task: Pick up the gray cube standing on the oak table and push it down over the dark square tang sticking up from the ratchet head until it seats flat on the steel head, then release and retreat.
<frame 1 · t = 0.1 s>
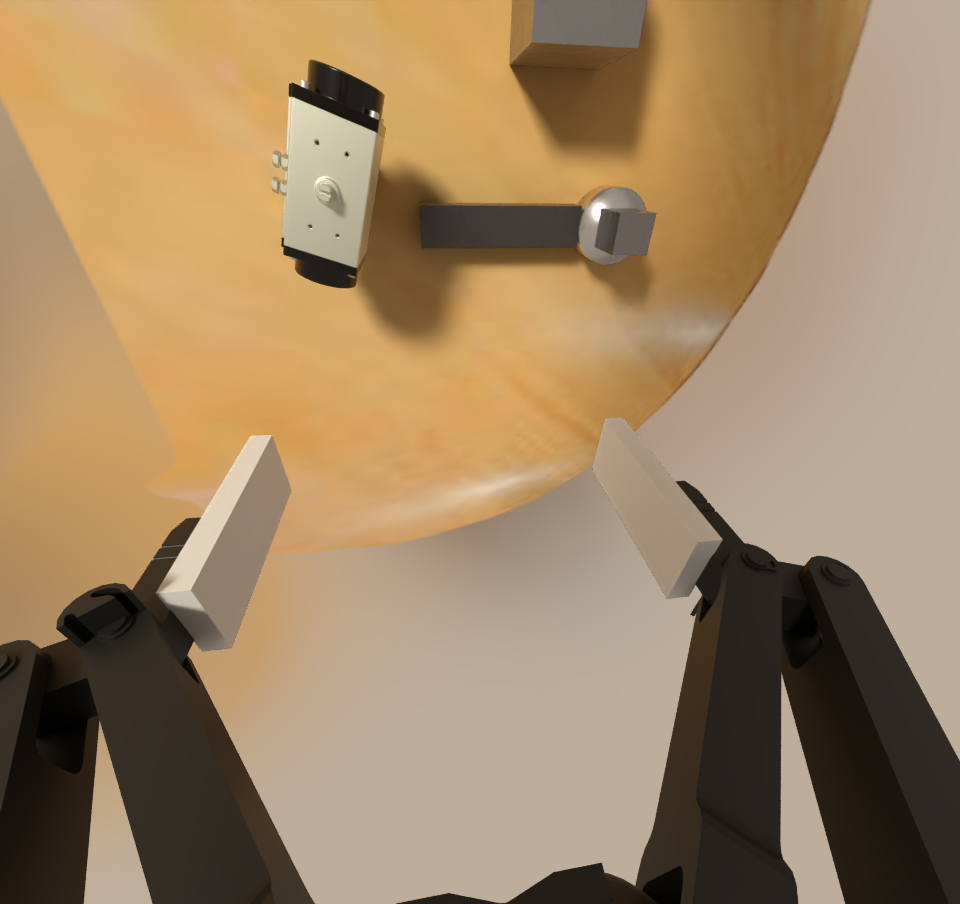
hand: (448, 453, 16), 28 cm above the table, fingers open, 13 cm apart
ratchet: (600, 223, 37), on the table
pneumatic valve: (346, 182, 33), on the table
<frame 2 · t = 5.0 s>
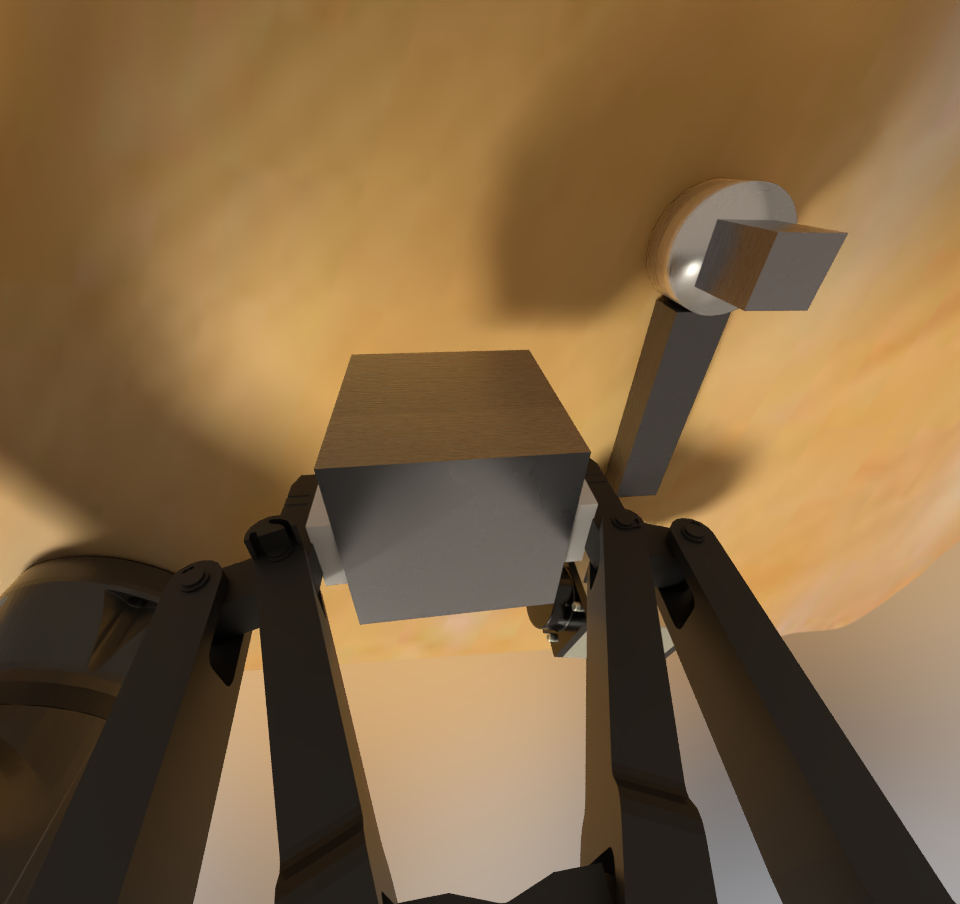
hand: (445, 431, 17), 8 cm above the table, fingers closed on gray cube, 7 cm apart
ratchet: (700, 244, 22), on the table
pneumatic valve: (574, 525, 35), on the table
gray cube: (445, 426, 17), point 8 cm above the table, touching gripper
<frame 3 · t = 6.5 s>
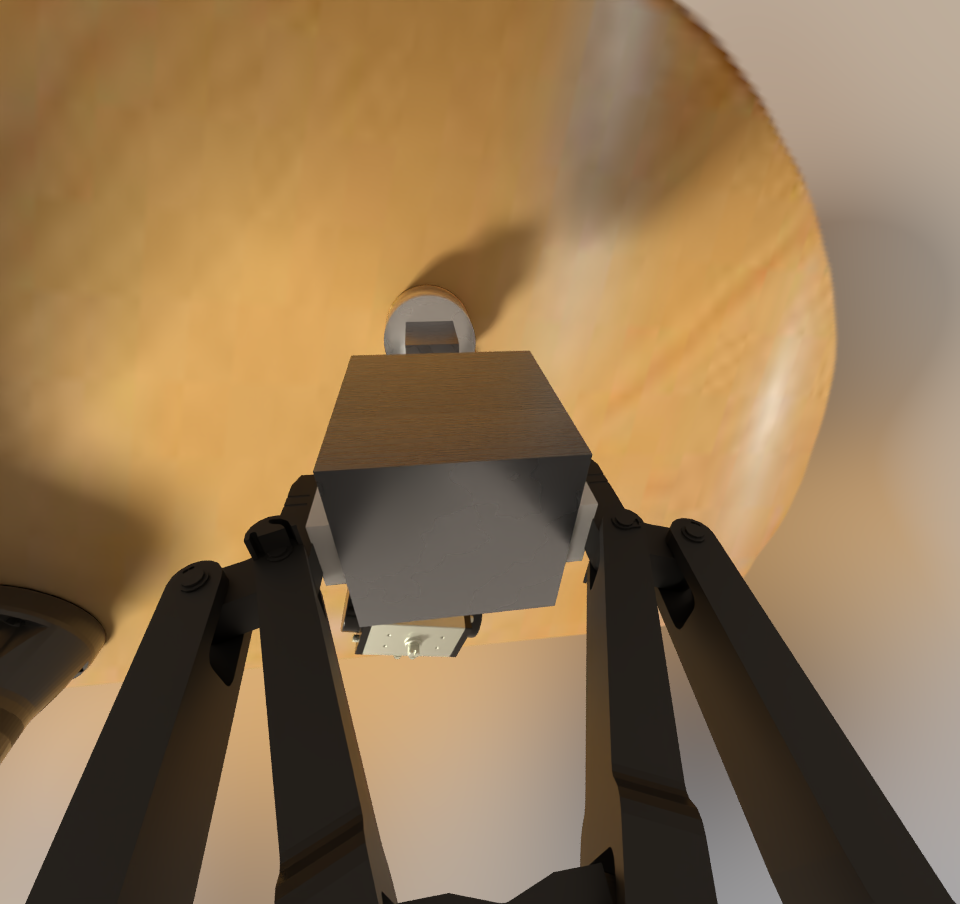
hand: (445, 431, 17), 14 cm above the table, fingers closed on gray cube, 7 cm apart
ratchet: (428, 328, 28), on the table
pneumatic valve: (412, 542, 41), on the table
gray cube: (445, 427, 17), point 13 cm above the table, touching gripper
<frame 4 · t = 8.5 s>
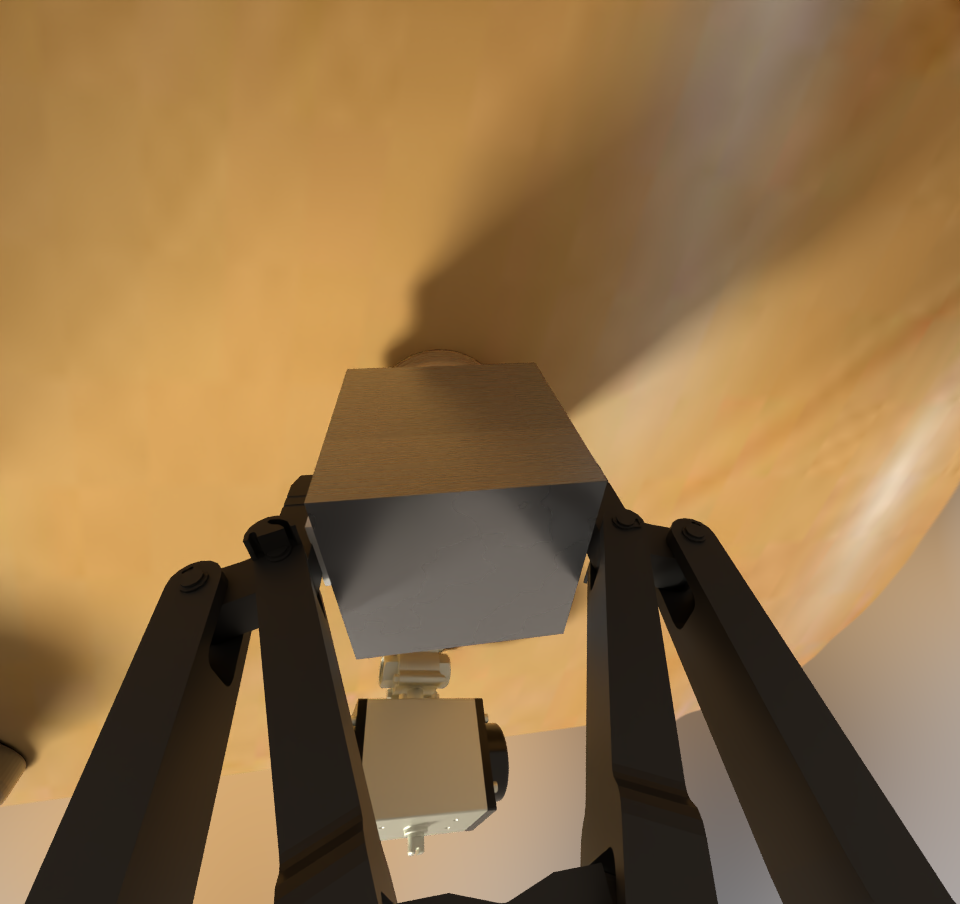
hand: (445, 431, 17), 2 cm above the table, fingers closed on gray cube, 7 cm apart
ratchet: (440, 408, 19), on the table
pneumatic valve: (413, 648, 32), on the table
gray cube: (446, 442, 17), point 3 cm above the table, touching gripper, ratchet
when the fingers open (2 cm above the table, at t = 9.5 s): gray cube stays where it is, resting on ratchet.
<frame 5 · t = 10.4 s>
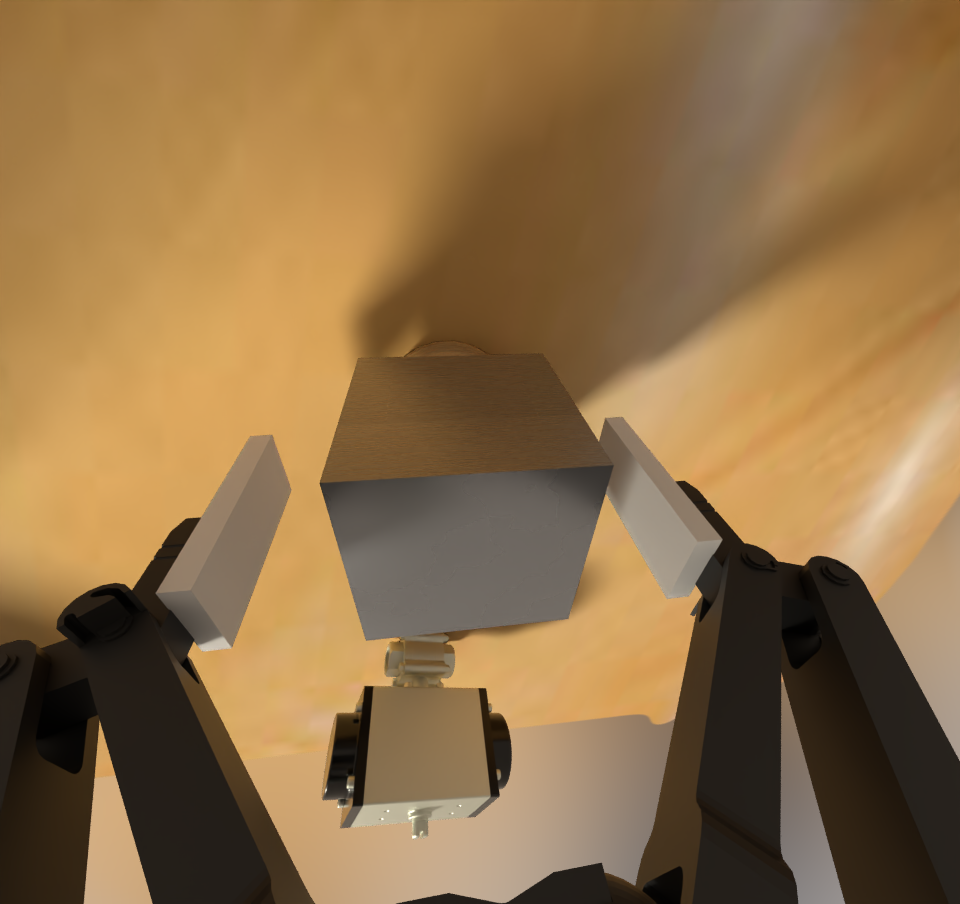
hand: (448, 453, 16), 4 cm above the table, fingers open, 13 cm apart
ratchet: (447, 399, 19), on the table
pneumatic valve: (418, 639, 33), on the table
gray cube: (454, 432, 17), point 3 cm above the table, touching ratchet
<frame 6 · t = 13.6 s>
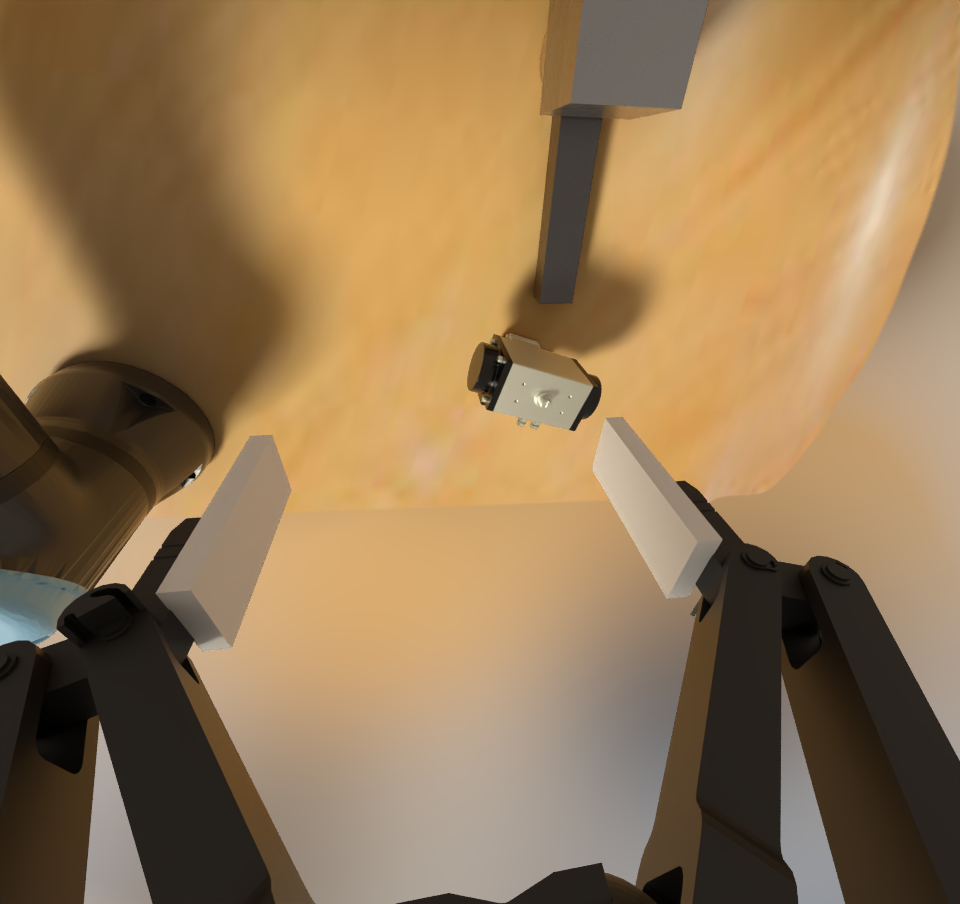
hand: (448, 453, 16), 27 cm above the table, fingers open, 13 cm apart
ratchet: (579, 60, 29), on the table
pneumatic valve: (514, 353, 42), on the table
gray cube: (595, 50, 27), point 3 cm above the table, touching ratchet
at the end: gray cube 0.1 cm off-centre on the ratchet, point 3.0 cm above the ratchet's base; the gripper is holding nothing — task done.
